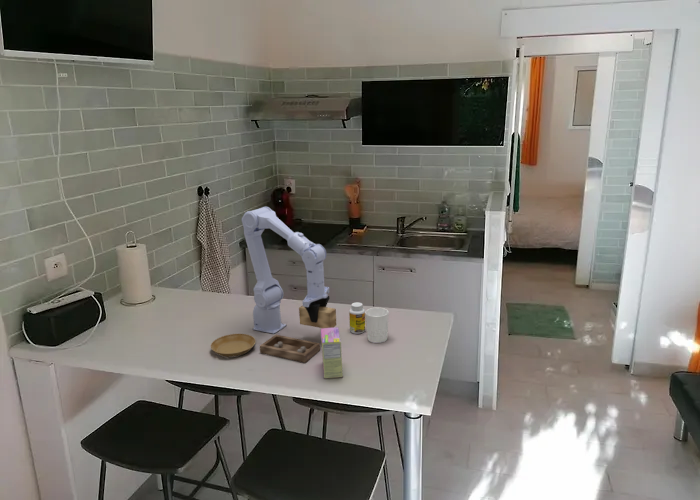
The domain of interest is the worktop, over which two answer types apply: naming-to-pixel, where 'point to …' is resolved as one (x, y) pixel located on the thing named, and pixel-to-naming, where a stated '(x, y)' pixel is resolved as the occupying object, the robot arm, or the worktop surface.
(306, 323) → the wooden block
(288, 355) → the walnut peg frame
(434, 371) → the worktop surface
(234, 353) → the plant saucer
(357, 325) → the supplement bottle
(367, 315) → the white cup
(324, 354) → the box
